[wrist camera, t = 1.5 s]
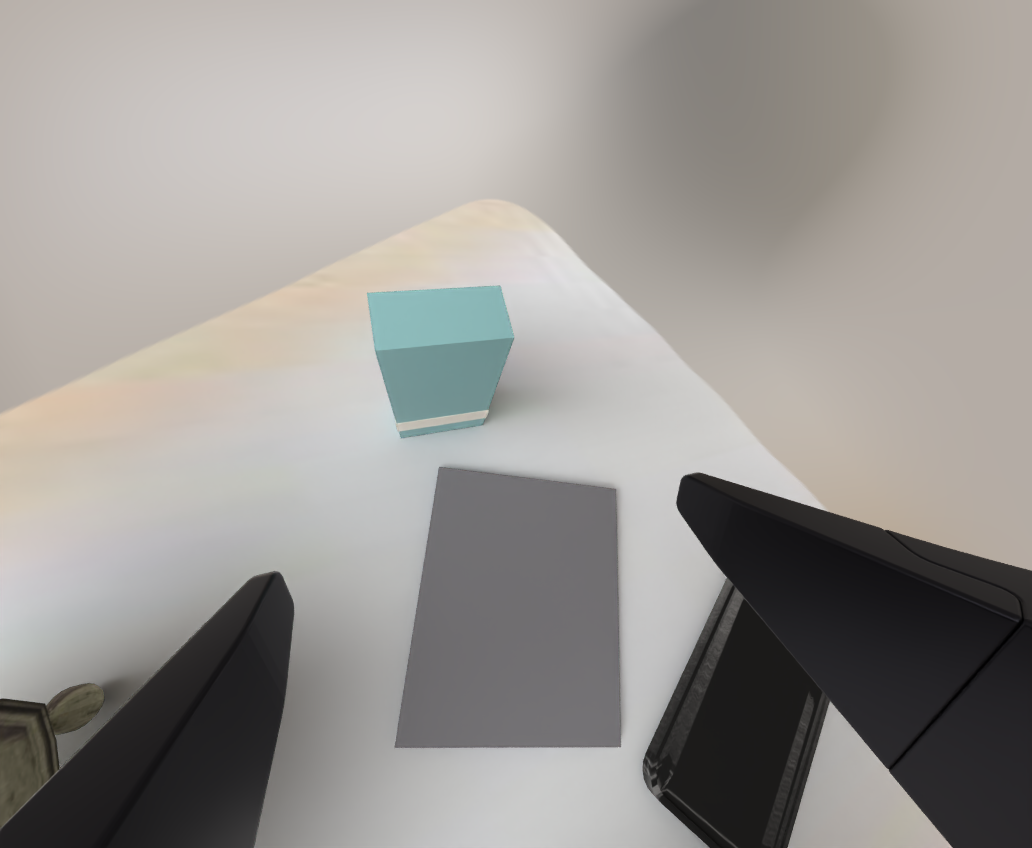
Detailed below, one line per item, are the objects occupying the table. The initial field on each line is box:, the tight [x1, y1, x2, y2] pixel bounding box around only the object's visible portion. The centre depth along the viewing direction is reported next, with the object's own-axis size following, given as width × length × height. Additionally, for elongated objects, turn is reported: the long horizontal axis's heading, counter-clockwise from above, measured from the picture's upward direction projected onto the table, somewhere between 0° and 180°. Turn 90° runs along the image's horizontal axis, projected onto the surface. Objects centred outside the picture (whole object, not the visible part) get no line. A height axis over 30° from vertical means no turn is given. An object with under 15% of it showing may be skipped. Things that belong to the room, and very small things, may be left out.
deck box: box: [367, 286, 514, 438], centre depth 18 cm, size 2×5×10 cm, turn 103°
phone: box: [643, 578, 830, 848], centre depth 21 cm, size 8×1×15 cm
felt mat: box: [395, 467, 621, 748], centre depth 20 cm, size 13×11×1 cm
